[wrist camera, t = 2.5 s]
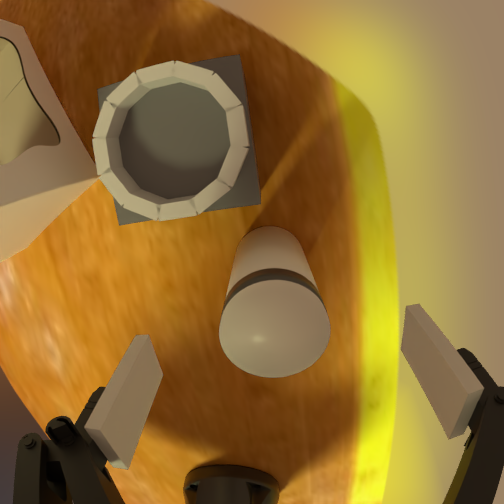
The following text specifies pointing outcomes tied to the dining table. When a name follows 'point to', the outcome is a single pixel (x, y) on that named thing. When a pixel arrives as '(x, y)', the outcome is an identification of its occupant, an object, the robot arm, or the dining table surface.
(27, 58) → the gable box
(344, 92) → the dining table surface
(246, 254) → the beige rounded cylinder
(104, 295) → the dining table surface
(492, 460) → the robot arm
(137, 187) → the grey socket block
